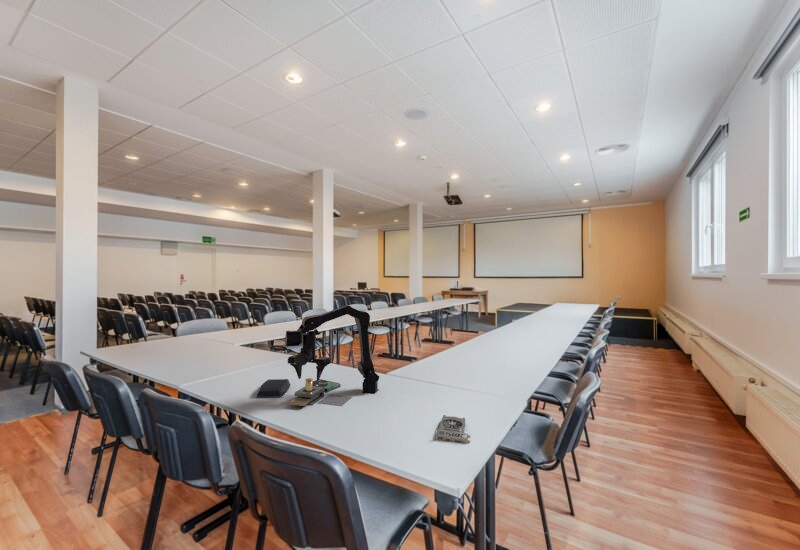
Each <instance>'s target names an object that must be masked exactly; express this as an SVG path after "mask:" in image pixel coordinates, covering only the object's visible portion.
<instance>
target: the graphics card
mask: <svg viewBox="0 0 800 550" xmlns="http://www.w3.org/2000/svg"><path fill="white" fill-rule="evenodd" d="M465 426H466V418H465V417H462V418H461V417H457V416H450V415H449V416H448V415H446V414H444V415H443V416H442V418H441V420H440V423H439V426H438V429H436V431H435V440H443V441H444V440H445V441H446V442H451V441H452V442H455V443H466V444H470V443H471V435H470V434H468V433H465V428H466V427H465ZM469 439H470V440H469Z"/></svg>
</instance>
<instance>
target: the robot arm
mask: <svg viewBox="0 0 800 550" xmlns="http://www.w3.org/2000/svg"><path fill="white" fill-rule="evenodd" d="M346 315H348V316H350V317H352V318H354V322H355V325H356V327H357V329H358V339H359V348H360V349H359V350H360V360H359V361H357V362H356V363H357V371H358V372H359V373H360V375H362V378H363V382H362V392H361V393H362V394H369V395H371V394H372V395H375V394H376V393H378V391H379V390H380V389H379V387H378V384H379V383H378V382H379V379H380V375H378V374H377V373H376V371H375V367H374V364H373V361H372V359H371V350H370V341H369V340H370V339H369V327H370V322H371V321H370V320H371V316H370V314H369V312H367V311H364V310H359V309H356V308H353V307H352V306H350V305H347V304H345V305H343V306H341V307H337V308H335V309H333V310H330V311H327V312H326V311H325V312H324V313H321V314H313V315H309V316H308V315H307V316H305V317H303V319H302V320H301V324H300V325H299V327H298V329H296V330H286V331H285V336H284V345H285V347H286V348H287V347H298V346H300V345H301V344H302V347H301V348H300V351H299V352H298V353H297V354H294V355H290V356H289V357H288V358H287V364H289V365H290V366H292V367H293V368H294V370H295V373H296V375H297V378H298V380H300V379H301V378H302V372H303V366H306V365H307V363H311V364H316V366H315V369H316V380H317V381H318V380H319V379H320V378H321V376H322V373H323V372H324V369H325V368H326V367H327V366H328V365H329V364H331V359H330V357H327V356H321V357H318V355H317V354H316V351H317V349H318V345H317V344H316V342H317V340H316V339H317V338H316V337H317V335H321V332H319V331H318V329H317V328H319V327H321V326H322V325H323V324H326V323H328V322H330V321H332V320H335V319H338V318H341V317H344V316H346ZM316 345H317V346H316Z"/></svg>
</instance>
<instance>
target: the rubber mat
mask: <svg viewBox="0 0 800 550" xmlns="http://www.w3.org/2000/svg"><path fill="white" fill-rule="evenodd" d="M351 399H353V396H348V395H339V394H328V395H326V396H324V398H323V399H321V400H320V401H318V402H317V403H316V404H318V405H326V406H338V407H343V406H344V405H345V404H347V402H348V401H350V400H351Z"/></svg>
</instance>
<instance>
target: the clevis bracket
mask: <svg viewBox="0 0 800 550" xmlns="http://www.w3.org/2000/svg"><path fill="white" fill-rule="evenodd" d="M324 398H325V392H324V387H318V386H312V392H306V386H304V387H302V388H299V389H298V390H297V391H295V392H294V398H293V399H291V400H289V401H288V404H289V405H292V406H301V407H305V406H314V405H315V404H317V403H318V402H319V401H321V400H322V399H324Z"/></svg>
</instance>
